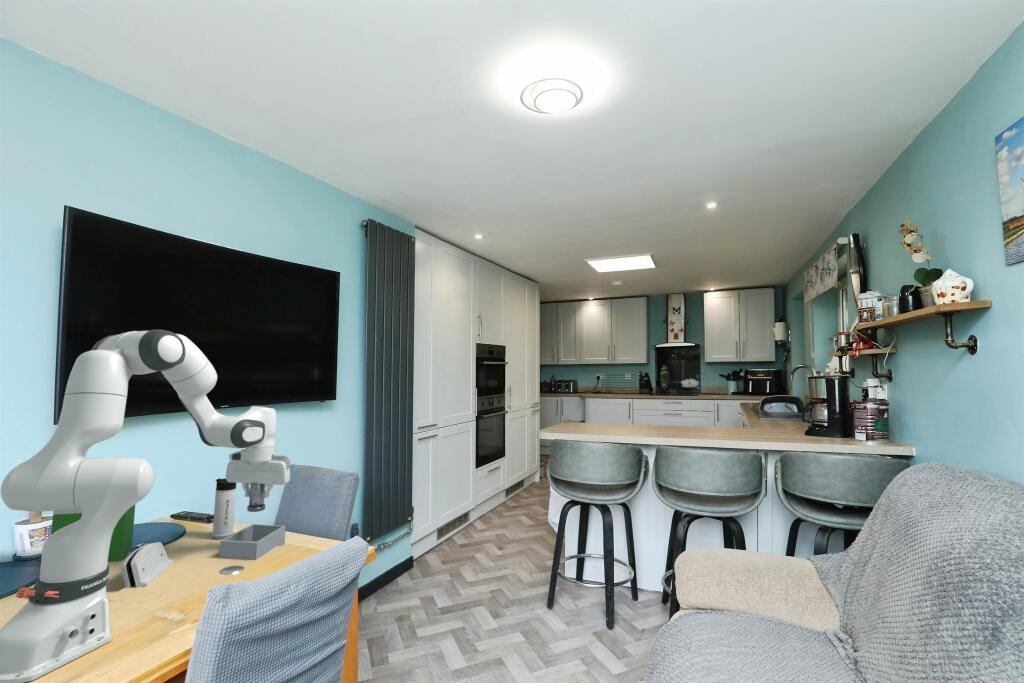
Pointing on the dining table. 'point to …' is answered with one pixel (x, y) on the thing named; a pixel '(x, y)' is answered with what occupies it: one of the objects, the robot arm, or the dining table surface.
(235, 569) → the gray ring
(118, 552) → the hardback book
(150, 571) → the white curved housing
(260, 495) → the grey knob
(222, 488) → the travel mug
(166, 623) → the dining table surface
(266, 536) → the bin
